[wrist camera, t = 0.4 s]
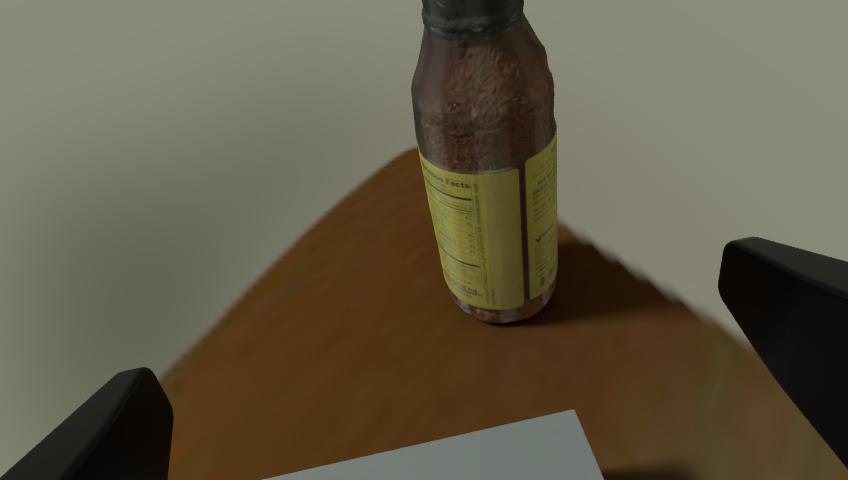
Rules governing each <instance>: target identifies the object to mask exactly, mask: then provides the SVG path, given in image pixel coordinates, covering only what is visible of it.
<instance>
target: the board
mask: <svg viewBox="0 0 848 480" xmlns="http://www.w3.org/2000/svg"><path fill="white" fill-rule="evenodd" d="M263 480H604V478H603V476H602V474H601V471H600V469H599V467H598V464H597V462H596V460H595V457H594V455H593V453H592V450H591V448H590V446H589V443H588V441H587V439H586V436H585V434H584V432H583V429H582V427H581V424H580V422H579V420H578V417H577V415H576V413H575V410H574V409H573V410H568V411H564V412H560V413H555V414H551V415H546V416H542V417H537V418H533V419H529V420H524V421H520V422H515V423H511V424H507V425H502V426H498V427H493V428H489V429H484V430H480V431H476V432H471V433H467V434H462V435H458V436H454V437H449V438H445V439H440V440H436V441H431V442H427V443H423V444H418V445H414V446H409V447H405V448H400V449H396V450H392V451H387V452H383V453H378V454H374V455H370V456H365V457H361V458H356V459H352V460H347V461H343V462H339V463H334V464H330V465H325V466H321V467H317V468H312V469H308V470H303V471H299V472H294V473H290V474H286V475H281V476H277V477H272V478H268V479H263Z"/></svg>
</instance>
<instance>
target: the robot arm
mask: <svg viewBox="0 0 848 480" xmlns="http://www.w3.org/2000/svg"><path fill="white" fill-rule="evenodd" d="M718 289H719V294H720V296H721V298H722V300H723V302H724V303H725V305H726V306H727V308H728V309H729V311H730V312H731V314H732V315H733V317H734V319H735V320H736V322H737V323H738V325H739V326H740V328H741V329H742V331H743V332H744V334H745V335H746V337H747V338H748V340H749V341H750V343H751V345H752V346H753V348H754V349H755V351H756V352H757V354H758V355H759V357H760V358H761V360H762V361H763V363H764V364H765V366H766V367H767V369H768V370H769V371H770V373H771V374H772V376H773V377H774V378H775V380H776V381H777V382H778V384H779V385H780V386H781V388H782V389H783V390H784V391H785V393H786V394H787V395H788V396H789V398H790V399H791V400H792V401H793V402H794V404H795V405H796V406H797V407H798V409H799V410H800V411H801V412H802V414H803V415H804V416H805V417H806V418H807V420H808V421H809V422H810V423H811V425H812V426H813V427H814V428H815V430H816V431H817V432H818V433H819V434H820V436H821V437H822V438H823V439H824V441H825V442H826V443H827V444H828V446H829V447H830V448H831V449H832V450H833V452H834V453H835V454H836V455H837V457H838V458H839V459H840V460H841V462H842V463H843V464H844V465H845V466H846V468H847V469H848V262H846V261H842V260H839V259H835V258H832V257H828V256H824V255H821V254H817V253H813V252H809V251H806V250H802V249H799V248H795V247H791V246H788V245H784V244H780V243H776V242H773V241H770V240H766V239H762V238H759V237H748V238H743V239H738V240H734V241H730V242H729V243H727V244H726V246H725V247H724V250H723V256H722V263H721V268H720V275H719V281H718ZM173 419H174V418H173V409H172V406H171V404H170V402H169V400H168V398H167V396H166V394H165V392H164V391H163V389H162V387H161V385H160V383H159V382H158V380H157V378H156V376H155V374H154V373H153V372H152V371H151V370H150V369H149V368H146V367H141V368H136V369H132V370H127V371H123V372H120V373H118V374H116V375H115V376H114V377H113V378H112V379H110V380H109V381H108V382H107V383H106V384H105V385H104V386H103V387H101V388H100V389H99V390H98V391H97V392H96V393H95V394H94V395H92V396H91V397H90V398H89V399H88V400H87V401H86V402H85V403H83V404H82V405H81V406H80V407H79V408H78V409H77V410H76V411H74V412H73V413H72V414H71V415H70V416H69V417H68V418H67V419H65V420H64V421H63V422H62V423H61V424H60V425H59V426H58V427H57V428H55V429H54V430H53V431H52V432H51V433H50V434H49V435H48V436H47V437H45V438H44V439H43V440H42V441H41V442H40V443H39V444H37V445H36V446H35V447H34V448H33V449H32V450H31V451H30V452H28V453H27V454H26V455H25V456H24V457H23V458H22V459H21V460H19V461H18V462H17V463H16V464H15V465H14V466H13V467H12V468H11V469H9V470H8V471H7V472H6V473H5V474H4V475H3V476H2V477H1V478H0V480H168V470H169V460H170V450H171V440H172V430H173Z"/></svg>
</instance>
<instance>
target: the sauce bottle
mask: <svg viewBox="0 0 848 480" xmlns="http://www.w3.org/2000/svg"><path fill="white" fill-rule="evenodd" d="M422 3H423V9H422V18H423V23H424V33H423V39H422V44H421V49H420V55H419V59H418V63H417V67H416V70H415V73H414V76H413V81H412V87H411V92H412V102H413V111H414V120H415V131H416V139H417V144H418V149H419V154H420V159H421V164H422V169H423V174H424V179H425V184H426V190H427V195H428V200H429V205H430V210H431V215H432V220H433V224H434V229H435V233H436V238H437V243H438V248H439V252H440V257H441V262H442V267H443V272H444V277H445V280H446V283H447V285H448V287H449V288H450V292H451V296H452V298H453V300H454V302H455V303H456V304H457V305H459V306H460V307H461V308H462V309H463V310H464V311H465V312H466V313H468V314H469V315H471V316H472V317H474V318H475V319H478V320H481V321H483V322H486V323H489V324H491V323H508V322H513V321H519V320H524V319H527V318H530V317H532V316H533V315H535V314H537V313H538V312H539V311H540V310H541V309H542V308H543V307H544V306H545V305H546V304H547V302H548V300H549V299H550V297H551V296H552V293H553V291H554V289H555V284H556V278H555V276H556V272H557V257H558V245H557V125H556V121H555V118H554V112H553V110H554V84H553V77H552V73H551V72H550V70H549V67H548V63H547V55H546V51H545V48H544V46H543V45H542V44H541V42H540V41H539V40H538V38H537V36H536V35H535V32H534V31H533V29H532V27H531V26H530V24H529V22H528V20H527V19H526V17H525V15H524V13H523V6H524V0H422Z"/></svg>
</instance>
